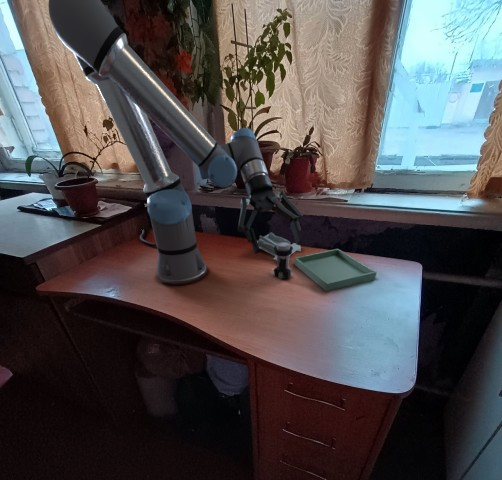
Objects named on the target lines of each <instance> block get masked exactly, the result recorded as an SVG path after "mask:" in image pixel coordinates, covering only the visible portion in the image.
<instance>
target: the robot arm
mask: <svg viewBox="0 0 502 480" xmlns="http://www.w3.org/2000/svg"><path fill="white" fill-rule="evenodd" d="M48 15H49V20H50V22H51V26H52V28H53V30H54V32H55V34H56V36H57V37H58V39H59V41H61V43H62V44H63V45H64V46H65V47H66V48H67V49H68V50H69V51H71V52H72V53H73V55H74V57H75V59H76V61H77V63H78V65H79V67H80V69H81V70H82V72H83V75H84V76H85V78H86V80H87V81H89V82H91V83H92V84H94V85H95V86H96V87H97V89H98V91H99V93H100V95H101V97H102V99H103V101H104V103H105V105H106V108H107V109H108V111H109V114H110V116H111V118H112V120H113V122H114V123H115V126H116V128H117V129H118V132H119V134H120V135H121V136H120V137H122V140H123V142H124V144H125V146H126V148H127V150H128V152H129V154H130V156H131V158H132V160H133V162H134V164H135V166H136V168H137V170H138V172H139V174H140V176H141V178H142V180H143V182H144V186H143V190H142V192H143V193H144V195H145V197H146V199H147V201H146V204H147V205H146V206H147V214H148V216H149V218H150V222H151V227H152V231H153V236H154V240H155V243H153V242H150V241H148V240H145V239H144V238H143V237H144V236H145V234H146V231H145V229H143V230H142V229H141V231H142V233H141V234H140V236H139V240H140V241H141V242H142V243H144V244H146V245H149V246H152V247H156V248H157V252H158V253H157V254H158V255H157V263H156V264H157V265H156V275H157V279H158V281H160V282H161V283H163V284H166V285H170V286H171V285H172V286H180V285H187V284H192V283H195V282H197V281H199V280H201V279H203V278H204V277H205V276H206V275H207V272H208V269H207V264H206V261H205V260H204V258H203V255H202V254H201V252H200V250H199V248H198V242H197V235H196V230H195V223H194V217H193V205H192V202H191V199H190V196H189V195H188V193H187V192H186V191H185V188H184V185H183V183H182V181H181V178H180V177H179V175H178V174H176V173H174V172H172V171H171V168H170V166H169V164H168V161H167V159H166V156H165V154H164V151H163V149H162V148H161V145H160V143H159V140H158V138H157V135H156V133H155V131H154V129H153V126H152V124H151V122H150V120H151V121H152V122H153V123H154V124H155V125H156V127H158V128H159V129H160V130H161V131H162V132H163V133H164V134H165V135H166V136H167V137H168V138H169V139H170V140H171V141H172V142H173V143H174V144H175V145H176V146H177V147H178V148H179V149H180V150H181V151H182V152H184V154H185V155H186V156H187V157H188V158H189V159H190V160H191V161H192V162H193V163H194V164H195V165H196V167H197V170H198V174H199V177H200V178H201V179H202V180H209V181H210V182H211V183H212V184H214V185H215V186H217V187H219V188H228V187H230V186H232V185H233V184H234V183H235V181H236V179H237V176H238V171H240V175H241V177H242V180H243V184H244V186H245V190H246V193H247V197H248V198H246V197H245V196H242V197H241V199H240V202H239V205H240V213H239V219H238V225H237V232H238V233H243V234H244V235H245V237H246V240H247V242H248V243H249V244H250V243H251V246H252V249H253V252H254V255H256V254H259V252H260V250H261V249H259V245H258V242H257V241H258V240H257V237H256V234H255V233H256V232H255V231H254V228H253V227H252V228H251V226H252V224H253V222H254V220H255V217H256V215H257V213H258V212H259V213H264V212H271V211H272V212H274V213H277V214H278V215H280V216H281V217H282V218H284V219H285V220H286V221H288V222H289V223H290V225H289V227H290V229H291V233H292V235H293V238H294V242H295V243H296V244H297V245H300V244H301V243H302V241H303V238H302V235H301V231H302V228H301V225H300V221H301V220H302V218H303V216H304V215H303V213H302V212H301V210H299V208H298V207H297V206H296V205H295V204H294V203H293V202H292V201H291V200H290V199H289V198H288V197H287V195H286V192H285V191H284V190H281V191H280V192H279V193H276V192H274V188H273V184H272V181H271V179H270V177H269V173H268V170H267V167H266V164H265V162H264V158H263V155H262V152H261V149H260V146H259V142H258V140H257V138H256V135H255V132H254V131H253V130H252V129H250V128H247V127H242V128H238V129H237V131H234V132H233V133H232V135H231V137H230V142H227V143H224V144H221V145H219V143H218V142H217V141H216V140H215V138H213V137H212V135H211V134H210V133H209V132H208V131H207V130H206V129H205V128H204V127H203V125H202V124H201V123H200V122H199V121H198V120H197V119H196V118H195V117H194V116H193V115H192V114H191V112H190V111H189V110H188V109H187V108H186V107H185V105H184V104H183V103H182V102H181V101H180V100H179V99H178V97H176V96H175V94H173V92H172V91H171V90H170V89H169V88H168V86H166V85H165V84H164V82H163V81H162V80H161V79H160V78H159V77H158V76H157V75H156V73H154V72H153V71H152V69H151V68H150V67H149V66H148V65H147V63H146V62H144V61H143V59H142V58H141V57H140V56H139V55H138V54H137V53H136V52H135V50H133V48H132V47H131V46H130V45H129V43H128V38H127V34H126V33H125V32H124V31H123V29H121V27H120V26H119V25H118V24H117V22H116V20H115V19H114V17H113V15H112V14H111V13H110V10H109V9H108V8H107V7H106V6H105V4H104V3H103V2H102V1H101V0H48ZM249 205H250V206H251V207H252V208H253V210H252V212H251V214H250V215H249V219H248V220H247V223H246V225H245V219H246V213H247V207H248V206H249Z"/></svg>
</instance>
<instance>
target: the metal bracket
mask: <svg viewBox="0 0 502 480" xmlns="http://www.w3.org/2000/svg"><path fill="white" fill-rule="evenodd" d="M257 242H258V245H259V249H260V250H262V251H264V252H265V253H268V254H270V255H271V256H274V257H273V261H275V262H277V255H276V254H275V251H274V247H275V246H277V244H278V243H281V242H286V243H289V244H290V246H292V247H293V250H292V254H290V255H289V257H291V256H292V255H293V254H294V253H295V252H299V253H300V252H302V246H301V245H300V244H299V245H297V244H296V242H293V243H292V244H291V241H290V240H288V239H286V238H284V237H282V236H278V235H276V234H274V233H273V232H271V231H270V232H269V233H268V234H266V235H264V236H262V235H259V239H258V240H257Z"/></svg>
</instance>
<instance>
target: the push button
mask: <svg viewBox="0 0 502 480" xmlns="http://www.w3.org/2000/svg"><path fill="white" fill-rule="evenodd" d="M290 245H291V243H290V244H289V243H286V242H281V243H278V244H277V246H275V247H274V251H275V254H276V255H277V261H276V267H275V268H274V269H273V268H271V269H270V271H271V272H270V274H271V275H274V277H276V278H279V279H284V280H286V281H288V280H289V279H291V277H292V269H291V267H290V256H291V255H290V254H292V250H293V247H292V246H290ZM289 255H290V256H289ZM292 255H293V254H292Z"/></svg>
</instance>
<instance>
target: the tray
mask: <svg viewBox="0 0 502 480" xmlns="http://www.w3.org/2000/svg"><path fill="white" fill-rule="evenodd" d="M293 265H294V266H295V267H296V268H298V269H299V270H300V271H301V272H302V273H304V274H305V275H306V276H307V277H309V278H310V279H311V280H313V282H314V283H316V284H317V285H318V286H320V287H321V288H322V289H323V290H324V291H325V292H329V291H333V290H336V289H341V288H345V287H349V286H354V285H357V284H358V285H359V284H362V283H365V282H369V281H373V280H376V275H377V271H376V270H374V269H372V268H371V267H369V266H368V265H366V264H365V263H362V262H361V261H359V260H357V259H356V258H354V257H352V256H351V255H349V254H348V253H346V252H344V251H343V250H341V249H339V248H335V249H330V250H325V251H319V252H316V253H311V254H306V255H301V256H296V257H294V262H293Z"/></svg>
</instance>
